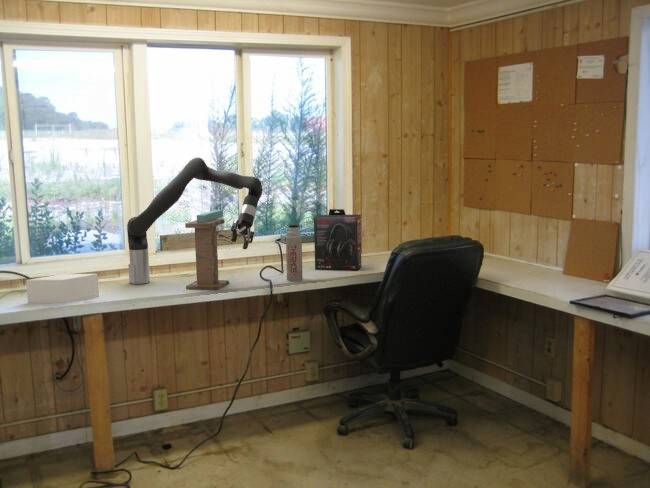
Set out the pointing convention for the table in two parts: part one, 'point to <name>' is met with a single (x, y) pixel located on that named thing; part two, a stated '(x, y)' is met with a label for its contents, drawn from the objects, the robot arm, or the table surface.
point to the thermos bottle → (294, 254)
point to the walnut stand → (206, 255)
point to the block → (62, 288)
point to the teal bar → (209, 216)
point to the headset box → (337, 241)
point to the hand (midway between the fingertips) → (239, 245)
